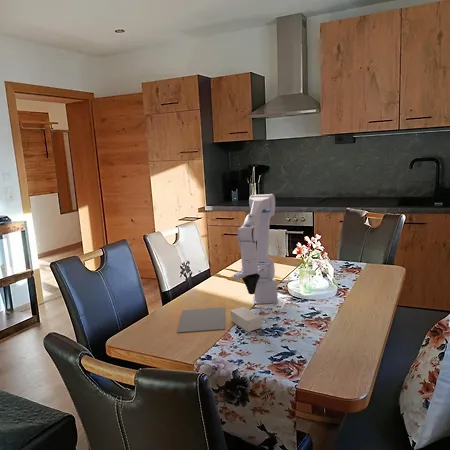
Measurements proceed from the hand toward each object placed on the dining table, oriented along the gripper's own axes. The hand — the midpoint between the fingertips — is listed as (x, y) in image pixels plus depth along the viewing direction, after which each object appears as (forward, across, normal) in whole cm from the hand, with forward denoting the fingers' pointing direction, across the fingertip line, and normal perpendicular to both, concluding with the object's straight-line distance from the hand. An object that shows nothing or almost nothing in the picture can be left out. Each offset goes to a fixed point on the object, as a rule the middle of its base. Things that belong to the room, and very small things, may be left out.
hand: (251, 293), depth 156 cm
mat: (+9, +15, -13) cm, 21 cm away
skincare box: (+7, +6, -3) cm, 9 cm away
